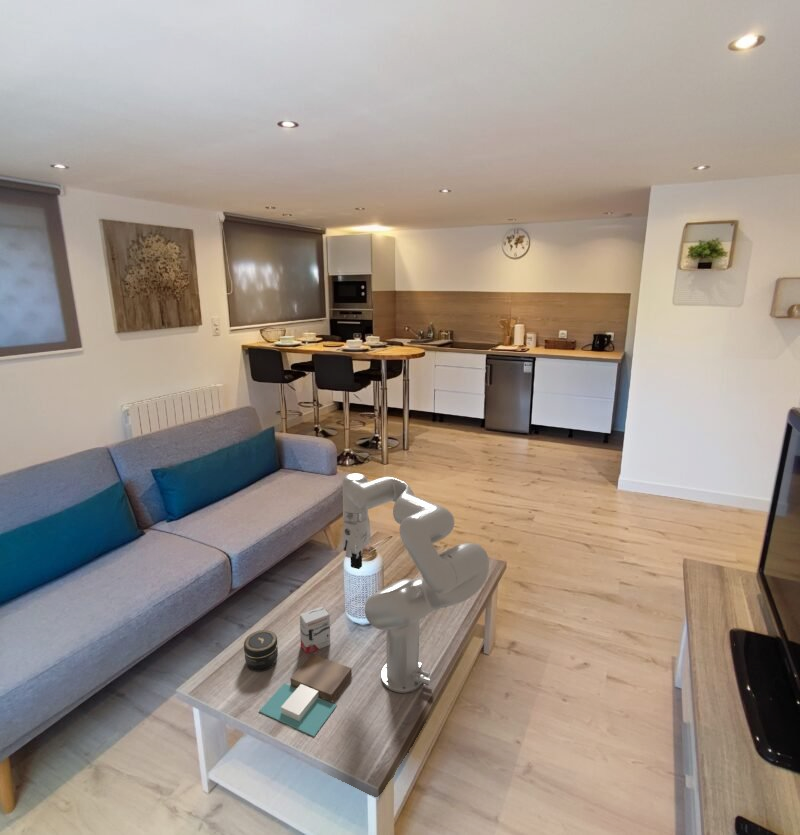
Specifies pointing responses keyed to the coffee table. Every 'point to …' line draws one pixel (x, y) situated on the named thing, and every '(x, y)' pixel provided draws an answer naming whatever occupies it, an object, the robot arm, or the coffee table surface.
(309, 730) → the mat
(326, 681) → the brown flat block
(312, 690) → the white rubber eraser
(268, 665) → the jar
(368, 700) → the coffee table surface
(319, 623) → the ink box
